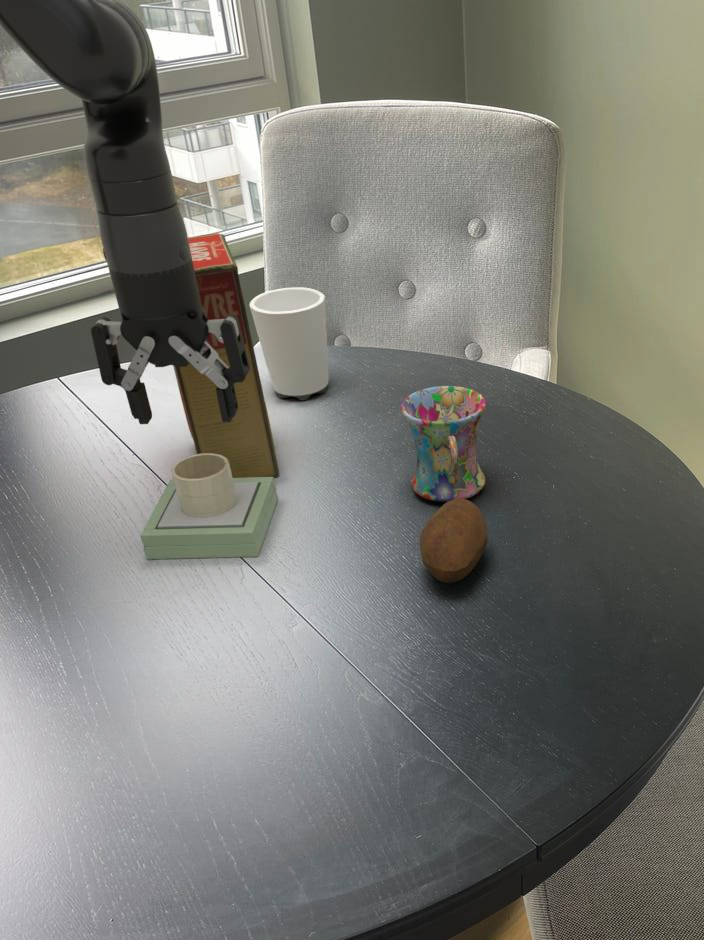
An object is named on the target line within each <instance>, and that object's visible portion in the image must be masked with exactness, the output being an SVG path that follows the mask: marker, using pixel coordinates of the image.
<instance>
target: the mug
mask: <svg viewBox="0 0 704 940" xmlns="http://www.w3.org/2000/svg"><path fill="white" fill-rule="evenodd" d="M486 405H487V401H486V398H485V397H484V396H483V395H482V394H481V393H480V392H478V391H476V390H474V389H471V388H469V387H463V386H458V385H457V386H456V385H441V386H440V385H439V386H433V387H427V388H424V389H420V390H417V391H415V392H413V393H411V394H409V395H408V396H406V397H405V398H404V400H403V401H402V402H401V405H400V410H401V413H402V415H403V417H404V419H405V420H406V422H407V424H408V426H409V428H410V431H411V433H412V436H413V439H414V443H415V448H416V468H415V472H414V475H413V477H412V480H411V487H412V490H413V491H414V492H415V493H416V494H417V495H418V496H420V497H421V498H423V499H425V500H428V501H432V502H438V503H447V502H448V501H451V500H453V499H462V498H463V499H466V500H468V499H470V498H472V497H474V496H475V495H477V494H478V493H479V492H480V491H482V489H483V488H484V486H485V484H486V477H485V474H484V473H483V471H482V469H481V466H480V464H479V461H478V456H477V455H478V454H477V435H478V430H479V426H480V422H481V419H482V417H483V414H484V412H485V409H486Z"/></svg>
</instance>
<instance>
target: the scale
mask: <svg viewBox="0 0 704 940" xmlns="http://www.w3.org/2000/svg"><path fill="white" fill-rule="evenodd" d="M233 482H234V483H247V482H258V485H259V489H258V492H257V494H256V497H255V499H254V502H253V505H252V507H251V510H250V512H249V515H248V518H247V520H246V523H245V525H244V527H231V528H192V529H158V524H159V523H160V521H161V519H162V517H163V515H164V513H165V511H166V509H167V507H168V505H169V503H170V501H171V499H172V497H173V495H174V493H175V492H176V488H175V484H174V481H173V479H170V480H169V482H168V483H167V485H166V487H165V488H164V491H163V492H162V494H161V496H160V498H159V500H158V502H157V503H156V506H155V507H154V509H153V511H152V513H151V514H150V517H149V519H148V521H147V522H146V524H145V526H144V528H143V530H142V532H141V533H140V539H141V543H142V547H143V551H144V555H145V558H146V560H173V559H174V560H176V559H177V560H178V559H210V558H211V559H215V558H216V559H217V558H254V557H259V555H260V553H261V549H262V546H263V544H264V542H265V541H264V540H265V538H266V535H267V532H268V529H269V526H270V524H271V521H272V518H273V515H274V512H275V509H276V506H277V504H278V500H279V496H278V491H277V487H276V483H275V477H274V478H273V477H249V478H233Z"/></svg>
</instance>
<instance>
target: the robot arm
mask: <svg viewBox="0 0 704 940" xmlns="http://www.w3.org/2000/svg"><path fill="white" fill-rule="evenodd" d="M0 28H1V29H2V30H3V31H4V32H5V33H6V35H7V36H8V37H10V39H11V40H12V41H13V42H14V43H15V44H16V45H17V46H18V47H19V48H20V49H21V50H22V51H23V53H25V55H26V56H27V57H28V58H29V59H30V60H31V61H32V62H33V63H34V64H35V65H36V66H37V67H38V68H39V69H40V70H42V72H43V73H45V74H46V75H47V77H49V78H50V79H51V80H52V81H53V82H55V83H56V84H57V85H58V86H60V87H61V88H62V89H64V90H65V91H66V92H67V93H70V94H71V95H73V96H75V97H76V98H78V99H80V100H81V104H82V107H83V109H82V110H83V114H84V118H85V123H86V136H85V140H84V144H83V160H84V165H85V170H86V175H87V179H88V182H89V186H90V190H91V194H92V197H93V202H94V206H95V209H96V214H97V221H98V229H99V235H100V239H101V245H102V253H103V257H104V260H105V261H106V264H107V268H108V272H109V275H110V279H111V283H112V287H113V291H114V296H115V298H116V302H117V306H118V309H119V312H120V314H121V321H112V320H111V319H110V318H109V317H107V316H101V317H100V319H98V320H97V321H96V322H95V323H94V325H93V326H92V327H91V329H90V333H91V338H92V342H93V346H94V352H95V356H96V361H97V365H98V370H99V374H100V378H101V379H100V380H101V381H102V383H103V384H104V385H106V386H112V385H115V386H118V387H121V388H122V389H123V390H124V392H125V396H126V399H127V401H128V406H129V409H130V413H131V416H132V417H133V419H134V420H138V423H139V425H149V423H150V422H151V420H152V418H153V412H152V407H151V404H150V400H149V396H148V392H147V388H146V385H145V382H142V381H141V378H142V376H143V374H144V372H145V370H146V368H147V366H148V365H149V364H151V365H153V366H154V367H155V368H165V367H168V366H172V367H173V366H178V367H187V366H188V364H192V365H193V366H194V367H195V368H196V369H197V370H198V371H199V372H200V373H201V374H205V375H206V376H207V377H208V378H209V379H210V380H211V381H212V382H213V383H214V384H215V385H216V386H217V388H216V393H217V398H218V403H219V408H220V413H221V417H222V421H223V423H225V422H231V420H232V418H233V417H234V416H235V414H236V412H237V410H238V402H237V398H236V392H235V387H234V383H237V382H243V381H244V380H245V378H246V376H247V374H248V372H249V370H250V365H249V361H248V357H247V353H246V349H245V345H244V341H243V337H242V333H241V329H240V325H239V321H238V318H237V316H236V315H234V314H229V315H227V317H226V318H225V319H214V320H208V318H207V317H206V316H205V314H204V312H203V310H202V305H201V299H200V295H199V290H198V285H197V280H196V275H195V271H194V266H193V261H192V256H191V251H190V246H189V241H188V237H189V236H188V233H187V232H188V231H187V228H186V225H185V220H184V218H183V215H182V213H181V210H180V206H179V203H178V197H177V193H176V188H175V182H174V180H173V174H172V170H171V165H170V161H169V157H168V154H167V150H166V147H165V146H166V145H165V139H164V131H163V114H162V105H161V94H160V93H161V92H160V83H159V76H158V75H159V74H158V69H157V63H156V57H155V54H154V53H155V52H154V48H153V45H152V41H151V38H150V36H149V35H150V34H149V33H148V31H147V29H146V27H145V25H144V23H143V21H142V20H141V18H140V17H139V16H138V15H137V13H136V12H135V11H134V10H133V9H132V8H131V7H130V6H129V5H127V4H126V3H124V2H123V1H122V0H0ZM209 333H213V334H214V335H215V336H216V337H217V339H218V341H219V342H221V343H224V345H225V349H226V353H227V357H228V361H229V365H230V368H229V367H228V366H227V365H226V364H225V363H224V362H223V361H222V360H221V359H220V358H219V356H218V353H217V352H216V351H215V350H214V349H213V348H212V347H211V346H210V345H209V344H208V343H207V342H206V339H207V337H208V335H209ZM120 335H121V337H123V339H124V340H125V341H126V342H127V343H128V344H129V345H130V346H131V347H132V348H133V349H135V353H134V354H133V357H132V359H131V361H130V363H129V365H128V367H127V369H124V368H122V366H121V361H120V357H119V352H118V347H117V343H118V342H119V341H120V338H121V337H120Z"/></svg>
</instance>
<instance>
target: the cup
mask: <svg viewBox="0 0 704 940" xmlns="http://www.w3.org/2000/svg"><path fill="white" fill-rule="evenodd" d="M249 309H250V312H251V316H252V320H253V323H254V326H255V330H256V333H257V336H258V340H259V343H260V347H261V351H262V354H263V358H264V361H265V364H266V368H267V372H268V375H269V378H270V381H271V385H272V388H273V390H274V391H275V393H276V394H277V396H278V397H279V398H280V399H288V398H290V397H293V398H296V399H298V401H306V400H308V399H309V398H310V397H311V396H313V395H314V394H318V395H320V394H325V392H327V389H328V385H329V381H330V380H329V359H328V337H327V334H328V333H327V315H326V314H327V313H326V310H327V309H326V296H325V294H324V293H323V292H321V291H319V290H317V289H314V288H309V287H303V286H302V287H301V286H300V287H299V286H297V287H296V286H295V287H282V288H276V289H272V290H267V291H264V292H262V293H259V294H258V295H257V296H254V298H252V300H250V302H249Z"/></svg>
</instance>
